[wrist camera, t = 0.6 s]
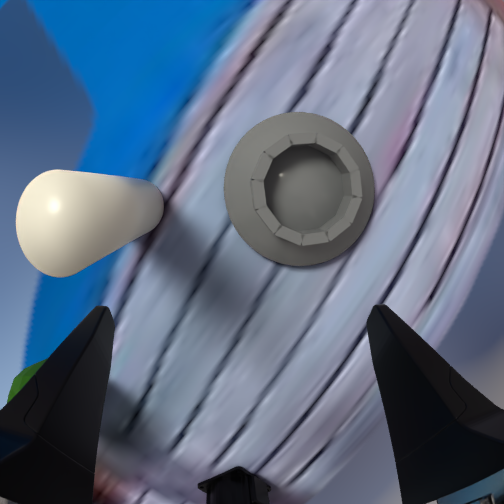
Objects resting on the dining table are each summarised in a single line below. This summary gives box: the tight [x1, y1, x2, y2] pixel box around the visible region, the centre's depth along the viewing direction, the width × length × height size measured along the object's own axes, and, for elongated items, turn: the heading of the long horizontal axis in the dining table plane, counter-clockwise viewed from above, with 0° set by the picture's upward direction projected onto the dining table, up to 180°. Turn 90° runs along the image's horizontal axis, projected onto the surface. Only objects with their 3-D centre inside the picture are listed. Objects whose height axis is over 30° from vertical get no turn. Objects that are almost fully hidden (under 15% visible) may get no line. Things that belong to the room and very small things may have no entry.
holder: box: [224, 112, 374, 266], centre depth 23 cm, size 12×12×3 cm
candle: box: [16, 170, 164, 277], centre depth 17 cm, size 4×4×13 cm
